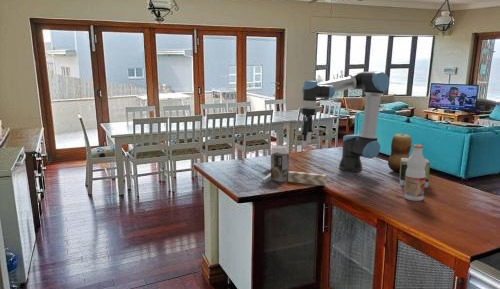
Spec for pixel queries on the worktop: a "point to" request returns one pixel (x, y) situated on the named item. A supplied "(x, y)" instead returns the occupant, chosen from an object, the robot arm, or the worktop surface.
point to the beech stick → (307, 178)
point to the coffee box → (279, 167)
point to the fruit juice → (415, 175)
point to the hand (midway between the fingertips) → (306, 144)
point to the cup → (279, 149)
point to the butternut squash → (399, 151)
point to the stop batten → (266, 178)
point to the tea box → (404, 166)
